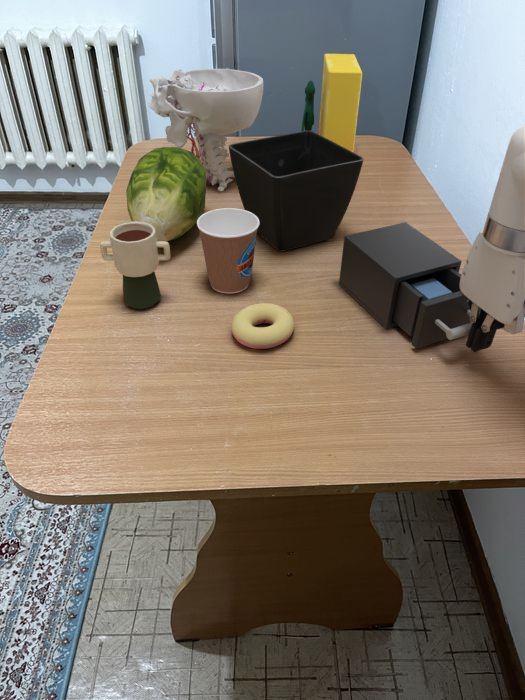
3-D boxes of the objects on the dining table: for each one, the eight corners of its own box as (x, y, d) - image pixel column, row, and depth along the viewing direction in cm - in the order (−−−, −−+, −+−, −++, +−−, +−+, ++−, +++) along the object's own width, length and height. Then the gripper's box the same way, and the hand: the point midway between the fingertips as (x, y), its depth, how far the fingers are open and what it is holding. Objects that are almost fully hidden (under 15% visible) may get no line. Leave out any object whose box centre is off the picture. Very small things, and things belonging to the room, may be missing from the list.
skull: (260, 167, 142) (262, 68, 128) (263, 199, 128) (265, 91, 113) (161, 167, 141) (150, 67, 127) (152, 199, 127) (139, 91, 112)
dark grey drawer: (493, 345, 86) (508, 303, 81) (434, 365, 82) (445, 322, 77) (421, 287, 98) (430, 247, 94) (366, 302, 95) (373, 261, 90)
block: (445, 318, 90) (452, 292, 86) (422, 325, 88) (428, 298, 85) (427, 303, 93) (433, 277, 89) (405, 310, 91) (410, 284, 88)
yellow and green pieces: (297, 152, 151) (303, 53, 136) (344, 153, 151) (354, 54, 135) (299, 178, 137) (305, 71, 122) (350, 179, 137) (362, 72, 122)
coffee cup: (248, 304, 95) (248, 240, 88) (191, 293, 98) (186, 230, 90) (265, 273, 103) (267, 212, 95) (213, 264, 105) (210, 204, 98)
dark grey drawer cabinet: (448, 311, 95) (461, 260, 89) (385, 329, 90) (395, 278, 84) (396, 269, 105) (405, 222, 99) (338, 284, 101) (344, 235, 94)
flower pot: (228, 223, 118) (226, 142, 108) (305, 205, 125) (310, 128, 115) (272, 264, 105) (275, 177, 95) (355, 242, 113) (366, 159, 102)
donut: (301, 345, 90) (264, 312, 95) (309, 323, 87) (271, 289, 92) (253, 364, 84) (217, 327, 89) (261, 340, 81) (222, 303, 86)
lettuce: (116, 265, 104) (102, 185, 95) (147, 203, 125) (138, 132, 115) (196, 269, 104) (190, 189, 94) (214, 206, 124) (211, 135, 115)
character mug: (176, 289, 99) (170, 221, 90) (173, 313, 93) (165, 242, 85) (114, 289, 98) (101, 221, 90) (106, 313, 93) (92, 242, 84)
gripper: (587, 253, 66) (536, 371, 77) (496, 201, 76) (463, 312, 88) (540, 266, 63) (494, 386, 75) (452, 211, 73) (424, 324, 85)
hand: (477, 346), depth 81 cm, fingers closed
